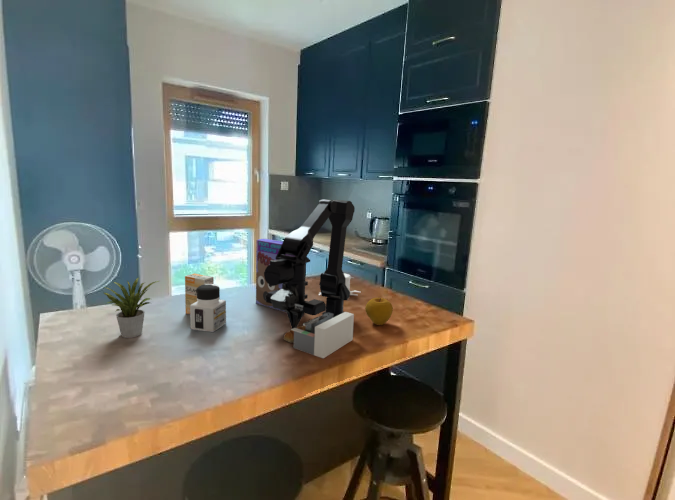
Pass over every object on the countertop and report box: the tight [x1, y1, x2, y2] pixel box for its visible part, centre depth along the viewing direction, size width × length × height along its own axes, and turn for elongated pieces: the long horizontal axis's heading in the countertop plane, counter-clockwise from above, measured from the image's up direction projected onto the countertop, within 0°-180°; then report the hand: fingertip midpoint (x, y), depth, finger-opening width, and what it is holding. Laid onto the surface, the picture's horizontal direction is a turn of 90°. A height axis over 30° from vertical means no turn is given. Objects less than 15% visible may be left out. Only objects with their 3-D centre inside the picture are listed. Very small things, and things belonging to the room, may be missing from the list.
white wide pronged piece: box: [318, 272, 360, 296], centre depth 156 cm, size 20×19×8 cm
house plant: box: [103, 277, 160, 339], centre depth 107 cm, size 14×14×16 cm
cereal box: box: [255, 238, 297, 313], centre depth 133 cm, size 17×5×24 cm, turn 56°
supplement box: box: [184, 273, 215, 315], centre depth 124 cm, size 8×5×13 cm, turn 68°
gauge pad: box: [302, 312, 334, 334], centre depth 106 cm, size 13×2×8 cm, turn 147°
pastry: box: [283, 325, 306, 344], centre depth 109 cm, size 9×7×4 cm
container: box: [189, 284, 227, 333], centre depth 114 cm, size 8×8×13 cm
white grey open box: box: [290, 311, 355, 359], centre depth 106 cm, size 15×11×8 cm
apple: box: [364, 297, 394, 326], centre depth 123 cm, size 9×9×9 cm
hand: (294, 329), depth 112 cm, fingers closed
